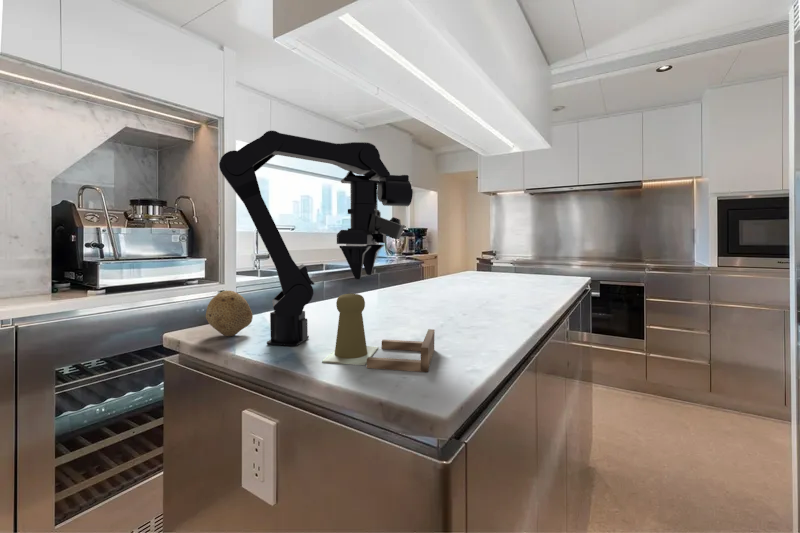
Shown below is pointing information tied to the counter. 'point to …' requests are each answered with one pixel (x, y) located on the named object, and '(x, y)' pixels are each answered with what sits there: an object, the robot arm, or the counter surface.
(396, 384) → the counter surface
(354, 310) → the cork
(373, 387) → the counter surface
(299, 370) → the counter surface
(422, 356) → the wooden frame with plate
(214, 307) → the natural sponge
